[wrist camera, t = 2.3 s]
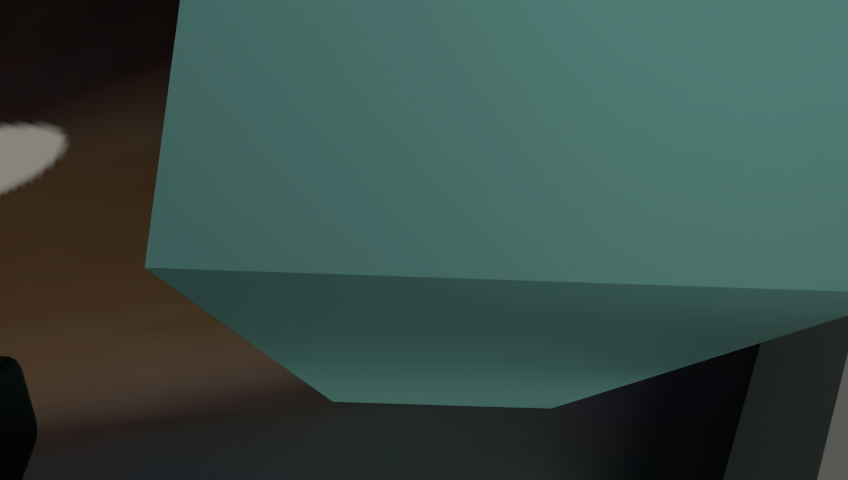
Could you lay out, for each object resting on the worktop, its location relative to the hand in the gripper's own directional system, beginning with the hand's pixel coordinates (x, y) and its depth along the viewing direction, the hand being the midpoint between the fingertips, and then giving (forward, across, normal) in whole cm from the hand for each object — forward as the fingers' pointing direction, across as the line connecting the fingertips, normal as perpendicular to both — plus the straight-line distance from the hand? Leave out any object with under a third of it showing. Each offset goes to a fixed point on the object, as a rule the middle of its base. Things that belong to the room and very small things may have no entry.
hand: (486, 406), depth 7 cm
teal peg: (+9, 0, +5) cm, 11 cm away
